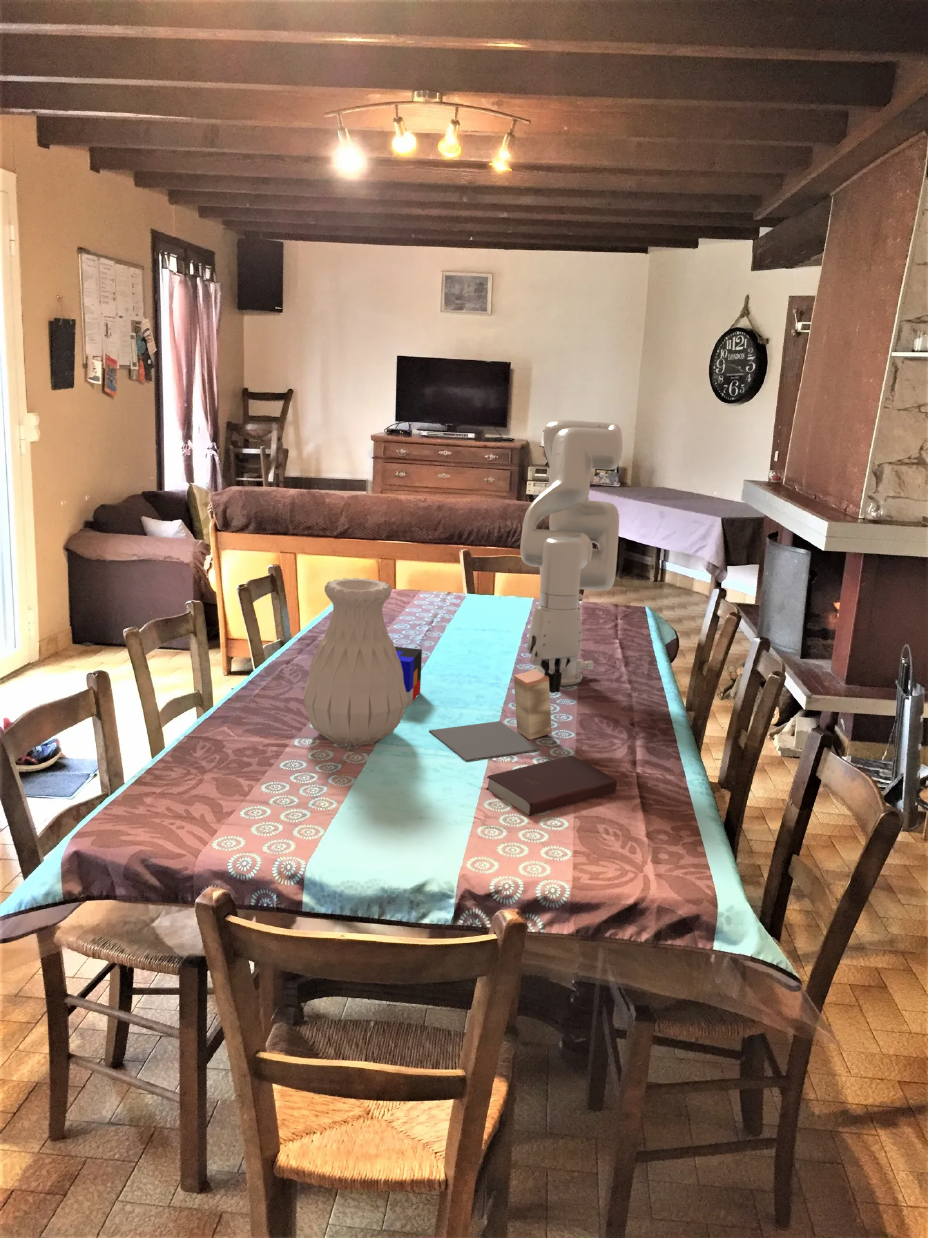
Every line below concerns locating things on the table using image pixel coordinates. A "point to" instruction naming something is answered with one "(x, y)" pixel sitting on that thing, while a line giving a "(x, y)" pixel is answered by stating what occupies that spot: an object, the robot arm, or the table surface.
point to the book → (551, 784)
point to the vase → (356, 668)
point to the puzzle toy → (410, 670)
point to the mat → (483, 740)
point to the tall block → (532, 704)
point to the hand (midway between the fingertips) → (551, 690)
